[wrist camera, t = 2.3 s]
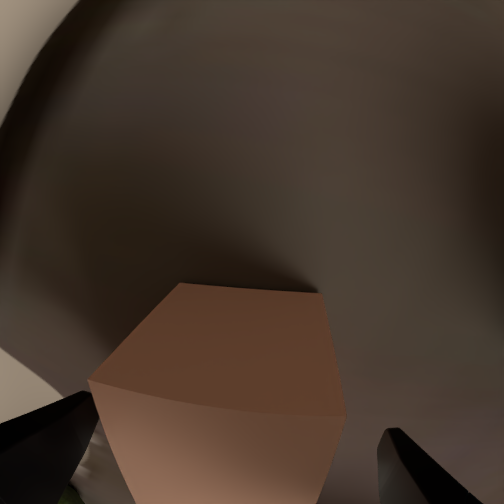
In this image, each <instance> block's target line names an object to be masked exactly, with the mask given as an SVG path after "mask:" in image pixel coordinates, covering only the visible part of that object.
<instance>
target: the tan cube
mask: <svg viewBox="0 0 504 504" xmlns="http://www.w3.org/2000/svg"><path fill="white" fill-rule="evenodd" d="M88 382H89V386H90V389H91V392H92V396H93V399H94V402H95V405H96V408H97V411H98V414H99V417H100V420H101V423H102V425H103V428H104V431H105V434H106V436H107V439H108V441H109V444H110V447H111V449H112V452H113V454H114V456H115V459H116V461H117V464H118V466H119V468H120V470H121V473H122V475H123V477H124V479H125V481H126V484H127V486H128V488H129V490H130V492H131V494H132V496H133V498H134V500H135V502H136V504H316V503H317V500H318V498H319V495H320V493H321V490H322V488H323V485H324V482H325V480H326V477H327V474H328V472H329V469H330V466H331V463H332V461H333V458H334V455H335V452H336V449H337V446H338V443H339V440H340V437H341V434H342V430H343V427H344V424H345V421H346V417H347V414H346V409H345V403H344V398H343V392H342V387H341V381H340V376H339V371H338V366H337V361H336V356H335V351H334V346H333V342H332V337H331V332H330V328H329V323H328V318H327V314H326V310H325V305H324V301H323V296H322V293H306V292H290V291H275V290H261V289H247V288H234V287H222V286H210V285H199V284H187V283H179V284H178V285H177V286H176V287H175V288H174V289H173V290H172V291H171V292H170V293H169V294H168V295H167V296H166V297H165V298H164V299H163V300H162V301H161V302H160V303H159V304H158V305H157V306H156V307H155V308H154V309H153V310H152V311H151V313H150V314H149V315H148V316H147V317H146V318H145V319H144V320H143V321H142V322H141V323H140V324H139V325H138V326H137V327H136V328H135V329H134V330H133V331H132V332H131V333H130V334H129V336H128V337H127V338H126V339H125V340H124V341H123V342H122V343H121V344H120V345H119V346H118V347H117V348H116V349H115V350H114V351H113V352H112V354H111V355H110V356H109V357H108V358H107V359H106V360H105V361H104V362H103V363H102V364H101V365H100V366H99V367H98V369H97V370H96V371H95V372H94V373H93V374H92V375H91V376H90V377H89V378H88Z"/></svg>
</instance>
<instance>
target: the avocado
mask: <svg viewBox="0 0 504 504" xmlns="http://www.w3.org/2000/svg"><path fill="white" fill-rule="evenodd" d="M58 504H85V503H84V502H83V501H82V499H81V498H80V496H79V495H78V493H77V492H76V491H75V490H74V489H72V488H71V487H70V486H68V485H67V487H66V489H65V491H64V493H63V494H62V496H61V498H60V500H59V502H58Z"/></svg>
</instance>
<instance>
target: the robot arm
mask: <svg viewBox="0 0 504 504" xmlns="http://www.w3.org/2000/svg"><path fill="white" fill-rule="evenodd" d="M98 420H99V414H98V411H97V408H96V405H95V402H94V399H93V396H92V393H90V392H87V391H80V392H77V393H75V394H73V395H70V396H68V397H66V398H63V399H61V400H59V401H56V402H54V403H51V404H49V405H46V406H44V407H42V408H39V409H37V410H34V411H32V412H29V413H27V414H24V415H21V416H19V417H16V418H14V419H11V420H9V421H6V422H3V423H1V424H0V504H58V502H59V500H60V498H61V496H62V494H63V493H64V491H65V489H66V487H67V485H68V483H69V481H70V479H71V477H72V476H73V474H74V472H75V470H76V468H77V466H78V464H79V463H80V461H81V459H82V457H83V455H84V453H85V451H86V449H87V447H88V444H89V442H90V439H91V437H92V434H93V432H94V429H95V427H96V425H97V422H98ZM377 459H378V480H379V496H380V503H381V504H483V503H482V502H480V501H479V500H478V499H477V498H476V497H475V496H473V495H472V494H471V493H470V492H469V493H468V490H467V489H465V488H464V487H463V486H462V485H461V484H460V483H459V482H458V481H457V480H455V479H454V478H453V477H452V476H451V475H450V474H449V473H448V472H447V471H446V470H444V469H443V468H442V467H441V466H440V465H439V464H438V463H437V462H436V461H435V460H434V459H432V458H431V457H430V456H429V455H428V454H427V453H426V452H425V451H424V450H423V449H422V448H421V447H419V446H418V445H417V444H416V443H415V442H414V441H413V440H412V439H411V438H410V437H409V436H408V435H407V434H406V433H405V432H403V431H402V430H401V429H400V428H387V429H386V430H385V431H384V433H383V435H382V438H381V440H380V442H379V445H378V448H377Z"/></svg>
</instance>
